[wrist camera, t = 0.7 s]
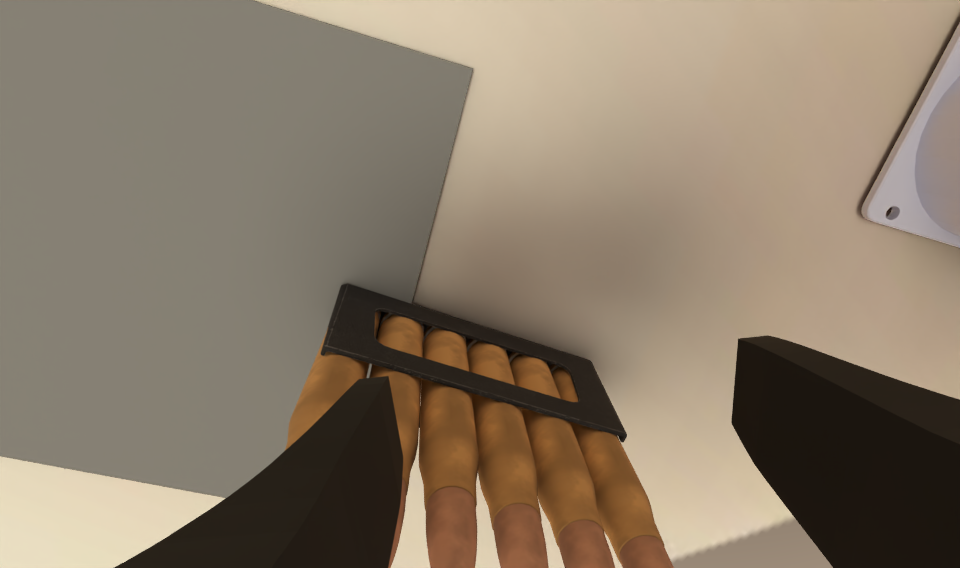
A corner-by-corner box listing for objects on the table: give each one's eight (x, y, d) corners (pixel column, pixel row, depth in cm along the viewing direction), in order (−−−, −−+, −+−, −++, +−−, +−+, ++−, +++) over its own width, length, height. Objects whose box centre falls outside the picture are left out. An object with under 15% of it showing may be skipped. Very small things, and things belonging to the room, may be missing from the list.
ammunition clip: (328, 323, 21) (207, 606, 10) (342, 281, 20) (228, 531, 9) (574, 397, 23) (706, 699, 12) (592, 361, 22) (750, 642, 11)
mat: (472, 68, 18) (472, 68, 18) (355, 516, 25) (354, 521, 24) (-114, -113, 16) (-124, -116, 16) (-73, 437, 22) (-79, 441, 22)
